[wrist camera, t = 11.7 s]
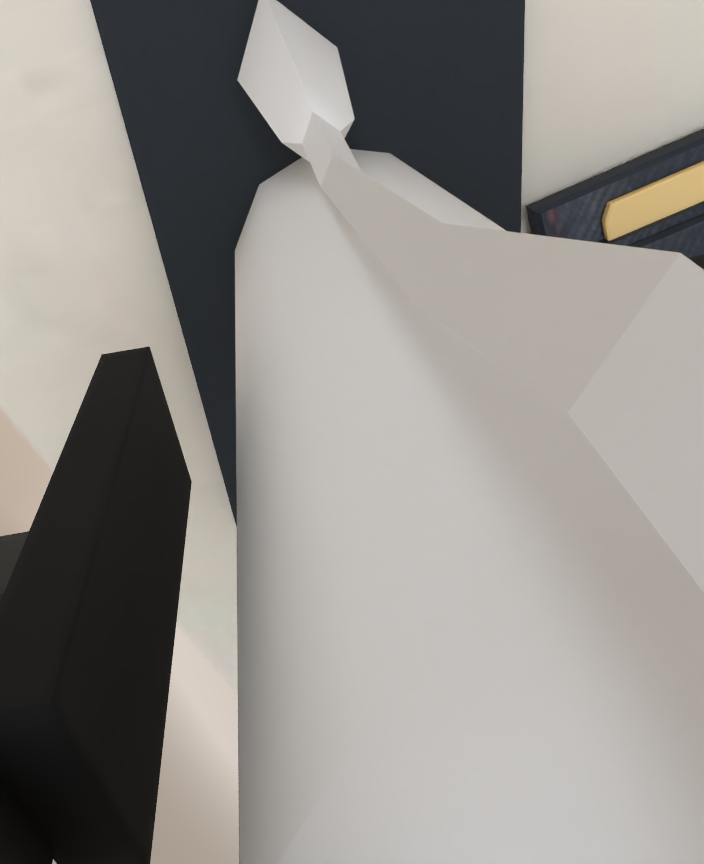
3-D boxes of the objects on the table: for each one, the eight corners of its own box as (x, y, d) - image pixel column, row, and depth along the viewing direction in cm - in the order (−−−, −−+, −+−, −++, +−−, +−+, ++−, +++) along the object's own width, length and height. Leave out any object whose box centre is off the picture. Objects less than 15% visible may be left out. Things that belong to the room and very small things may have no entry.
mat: (512, 475, 27) (516, 481, 26) (238, 525, 26) (237, 531, 26) (525, -324, 15) (531, -331, 14) (20, -264, 14) (14, -271, 14)
